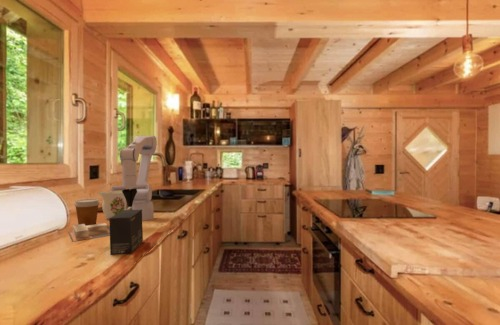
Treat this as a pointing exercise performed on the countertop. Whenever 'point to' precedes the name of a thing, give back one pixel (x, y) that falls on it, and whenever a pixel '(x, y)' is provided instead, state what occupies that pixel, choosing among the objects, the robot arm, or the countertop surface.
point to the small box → (125, 232)
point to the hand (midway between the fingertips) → (129, 206)
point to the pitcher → (113, 203)
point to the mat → (91, 235)
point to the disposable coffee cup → (87, 211)
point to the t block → (88, 230)
